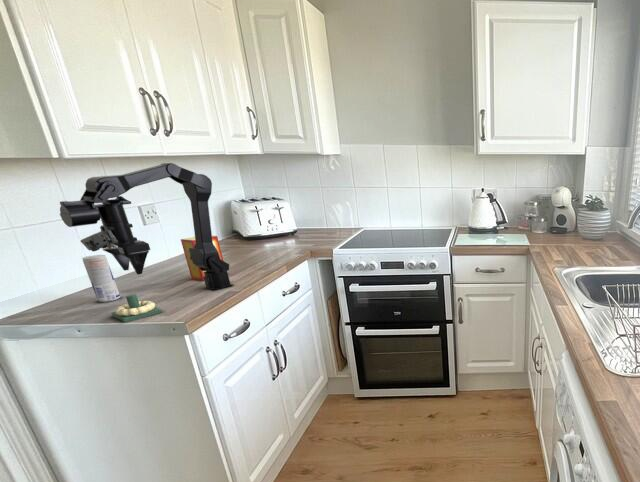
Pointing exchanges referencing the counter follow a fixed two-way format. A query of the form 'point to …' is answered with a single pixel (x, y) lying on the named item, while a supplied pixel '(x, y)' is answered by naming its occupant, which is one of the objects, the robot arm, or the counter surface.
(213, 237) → the baking soda box
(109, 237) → the robot arm
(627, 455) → the counter surface
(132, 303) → the stand
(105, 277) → the beverage can
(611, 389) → the counter surface
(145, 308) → the ring
